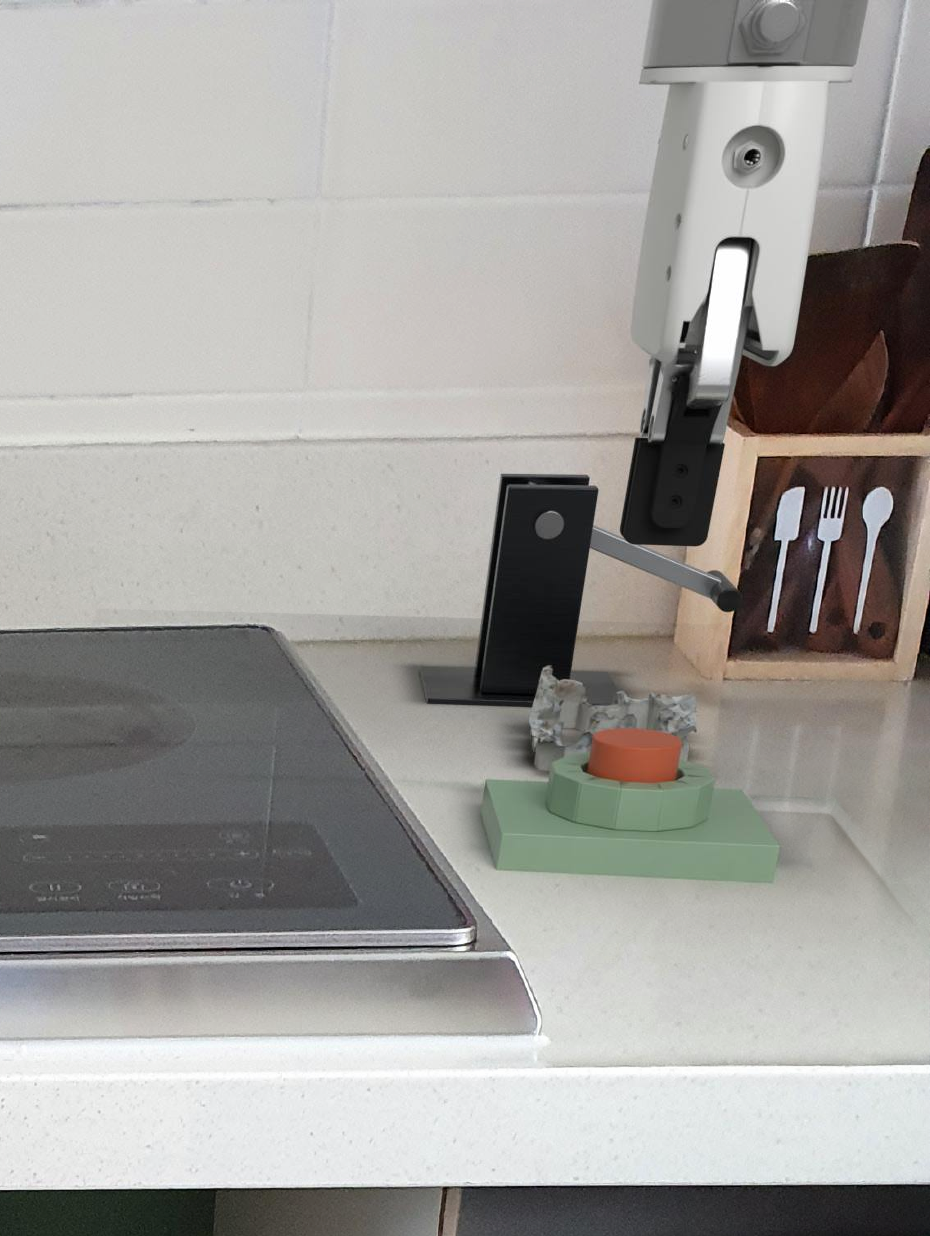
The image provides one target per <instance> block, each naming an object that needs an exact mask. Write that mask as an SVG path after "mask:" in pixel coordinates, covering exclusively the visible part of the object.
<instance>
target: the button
mask: <svg viewBox="0 0 930 1236" xmlns="http://www.w3.org/2000/svg"><path fill="white" fill-rule="evenodd" d="M681 747H682V740H681V739H680V738H679V737H677V736H674V735H672V734H669V733H665V732H660V731H654V730H647V729H634V728H618V729H607V730H602V731H599V732H596V733H595V734H594V735H593V738H592V744H591V751H590V757H589V763H588V770H587V774H590V775H593V776H595V777H598V778H603V779H609V780H615V781H621V782H638V783H660V782H670V781H676V776H677V770H678V764H679V759H680V753H681Z"/></svg>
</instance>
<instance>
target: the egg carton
mask: <svg viewBox="0 0 930 1236" xmlns="http://www.w3.org/2000/svg"><path fill="white" fill-rule="evenodd" d="M552 671H553V669H552V668H551V665H549V666H548V665H547V666H545V667H544V668H543V670H542V672H541V676H540V680H539V684H538V688H537V692H536V696H535V699H534V702H533V706H532V707H531V711H530V714H529V717H528V722H529V726H530V730H529V736H530V737H532V741H531V749H532V752H533V753H535V755H534V761H533V762H534V763H533V766H534V767H535V768H536V769H537V770H538V771H539V770H540V771H546V772H550V767H551V763H552V762H554V761H556V760H558V759H561V758H563V757H565V756H567V755H571V754H581V753H590V751H591V744H592V738H593V735H594V734H595V733H596V732H599V731H602V730H607V729H618V728H634V729H647V730H654V731H660V732H665V733H669V734H672V735H674V736H677V737H679V738H680V739H681V740H682V747H681V753H680V759H683V760H686V761H688V758H689V754H690V753H689V752H690V745H691V744H690V742H689V739H688V738H687V735H688V734H689V733H691V732H694V733H697V731H698V729H697V726H698V723H697V721H698V714H697V697H696V694H695V693H692V692H691V693H686V694H682V695H676V696H672V695H671V696H670V695H667V694H662V693H658V694H656V693H655V692H650V694H649V695H648V697H647V698H641V699H639V698H638V699H637V698H631V697H629V696H628V694H626V691H625V690H619V691H618V692H617V693H616V694H615V695H614V696H613V701H612V704H611V705H609V706H602V705H600V706H592V705H591V704H589V703H588V702H586V700H587V696H586V691H585V686H584V685H583V683H581V682H578V681H575V680H570V679H562V680H560V681H559V680H558V679H556V678H555V677H554V676H552ZM563 728H565V729H575V730H576V731H577V730H578V731H579V732H582V733H581V736H580V738H579V739H578V741H577V742H575V743H573V744H569V745H567V744H565V745H564V744H563V742H562V734H563Z"/></svg>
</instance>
